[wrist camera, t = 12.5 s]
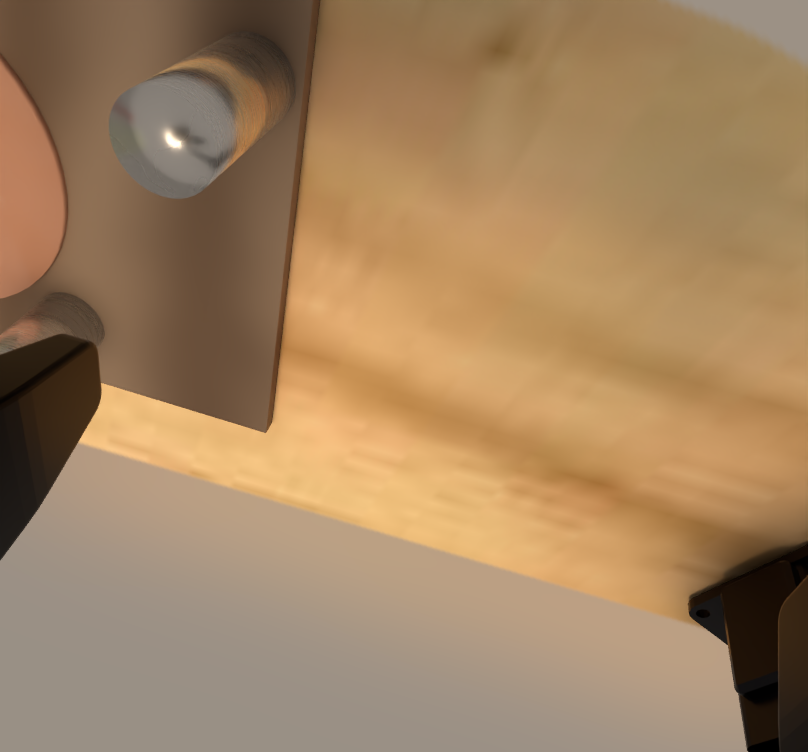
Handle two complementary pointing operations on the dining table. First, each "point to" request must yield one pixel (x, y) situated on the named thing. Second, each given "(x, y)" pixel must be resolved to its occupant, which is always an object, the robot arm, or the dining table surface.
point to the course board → (149, 200)
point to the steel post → (179, 145)
